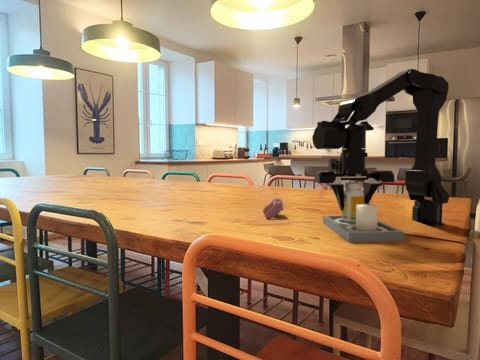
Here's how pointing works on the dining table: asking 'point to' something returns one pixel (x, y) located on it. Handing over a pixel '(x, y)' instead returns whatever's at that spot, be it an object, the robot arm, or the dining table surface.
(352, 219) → the supplement bottle
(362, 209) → the jaw peg
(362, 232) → the tray
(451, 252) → the dining table surface
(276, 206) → the video game controller
